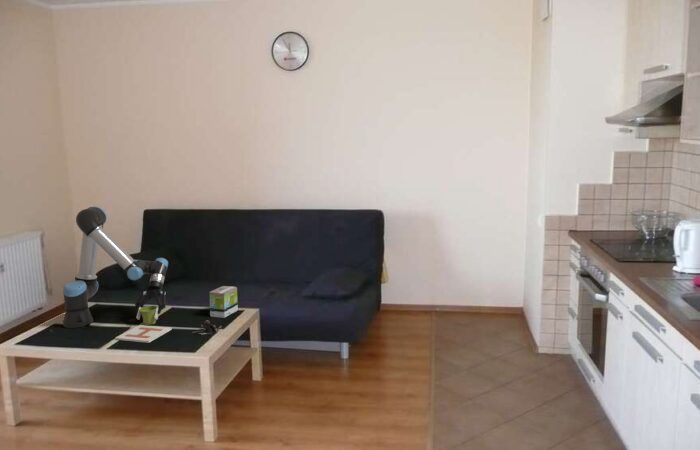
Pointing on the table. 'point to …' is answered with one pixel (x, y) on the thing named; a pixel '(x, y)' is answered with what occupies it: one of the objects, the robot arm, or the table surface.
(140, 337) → the letter board
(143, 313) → the plant pot
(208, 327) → the stuffed animal
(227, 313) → the tea box
